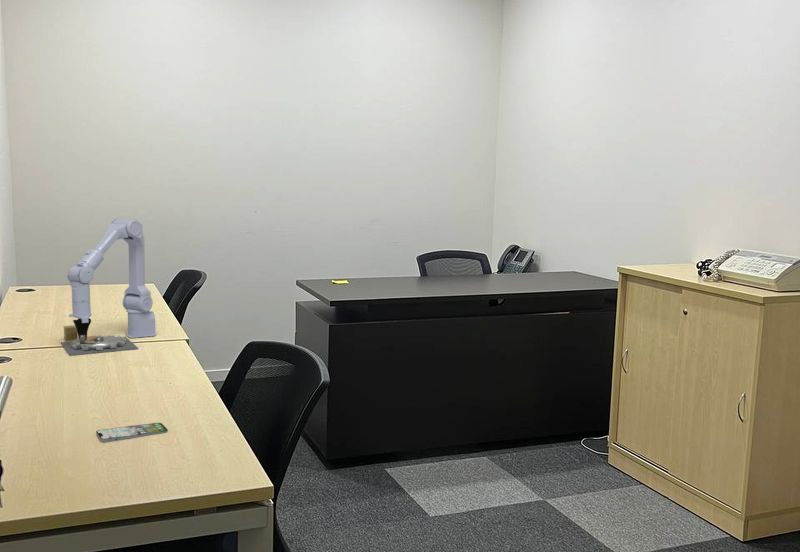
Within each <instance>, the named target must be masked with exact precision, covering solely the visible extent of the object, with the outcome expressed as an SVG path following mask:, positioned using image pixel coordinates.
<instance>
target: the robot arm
mask: <svg viewBox="0 0 800 552" xmlns="http://www.w3.org/2000/svg"><path fill="white" fill-rule="evenodd" d="M118 240H123V241H124V242H126V244H128V287H127V288H126V289H125V290H124V295H123V298H122V306H123V308H124V309H125V310H126V313H127V332H126V333H125V335H126V336H127V338H128V339H135V338H145V337H156V335H157V334H156V316H155V312H154V311H153V310H152V311H151V309H152V307H153V299H152V295H151V294H152V293H151V290H149V289H148V288H147V286H146V285H145V284H146V283H145V281H146V279H145V278H146V276H145V273H146V271H145V270H146V269H145V236H144V233H143V224H142V223H141V222H140V221H138V220H137V219H135V218H134V219H133V218H132V219H130V218H120V217H119V218H118V217H116V218H113V219H112V220H111V222H110V223H109V224H108V225H107V230H106V232H105V233H104V234H103V236H102V237H101V238H100V240H99V242H98V243H97V245H96V246H95V247H94V248H90V249H87V250H86V251H85V254H84V255H83V257H82V258H81V259H80V260H79V261H77V262H76V263H77V264H76V265H74V266H71V268H70V269H69V270H68V272H67V274H66V278H67V280H68V281H69V283H70V288H71V304H72V305H71V307H72V309H71V310H72V313H69V314H68V317H69V318H76V319H73V320H72V322H73V324H74V325H75V326H76V329H77V335H78V339H79V340H80V335H81V334H85V340H86V339H87V337H88V333H89V332H88V331H89V328H90V325H91V323H92V319H91V318H90V317H91V316H92V313H91V309H92V308H91V288H90V287H91V286H90V285H91V284H90V283H91V281H92V280H93V279H94V274H95V272H96V270H97V269H98V267H99V266H100V264H102V262H103V261H104V258H105V257H104V255H105V254H106V252H107V251H108V250H109V249H110V248H111V247H112V246H113V244H115V243H116V241H118Z"/></svg>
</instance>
